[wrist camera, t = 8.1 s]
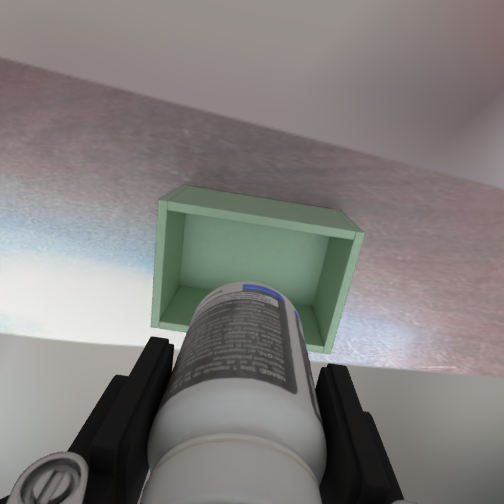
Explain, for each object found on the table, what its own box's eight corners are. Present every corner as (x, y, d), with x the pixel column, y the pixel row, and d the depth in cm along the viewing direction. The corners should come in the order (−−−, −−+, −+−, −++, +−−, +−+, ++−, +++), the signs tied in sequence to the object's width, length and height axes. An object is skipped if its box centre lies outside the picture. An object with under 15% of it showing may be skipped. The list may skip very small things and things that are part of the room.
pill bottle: (170, 327, 14) (55, 565, 6) (245, 256, 13) (215, 440, 5) (249, 390, 15) (232, 662, 7) (325, 329, 14) (403, 578, 6)
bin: (173, 287, 25) (150, 327, 20) (182, 184, 22) (158, 199, 17) (316, 309, 25) (330, 354, 20) (341, 210, 22) (365, 233, 17)
